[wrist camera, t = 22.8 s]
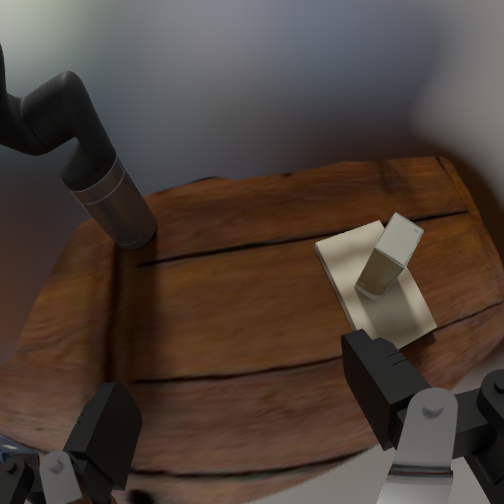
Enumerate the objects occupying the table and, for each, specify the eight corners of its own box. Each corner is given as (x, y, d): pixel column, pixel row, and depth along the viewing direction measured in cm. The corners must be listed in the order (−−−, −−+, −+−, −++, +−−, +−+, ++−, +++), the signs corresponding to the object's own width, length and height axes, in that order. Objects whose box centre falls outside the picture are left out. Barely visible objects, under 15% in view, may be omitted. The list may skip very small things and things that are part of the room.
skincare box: (372, 257, 42) (396, 209, 31) (395, 272, 40) (425, 228, 29) (351, 288, 40) (373, 246, 29) (375, 305, 38) (405, 268, 27)
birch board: (314, 249, 46) (315, 242, 44) (376, 227, 46) (379, 220, 45) (367, 364, 36) (371, 363, 34) (431, 330, 36) (437, 326, 35)
